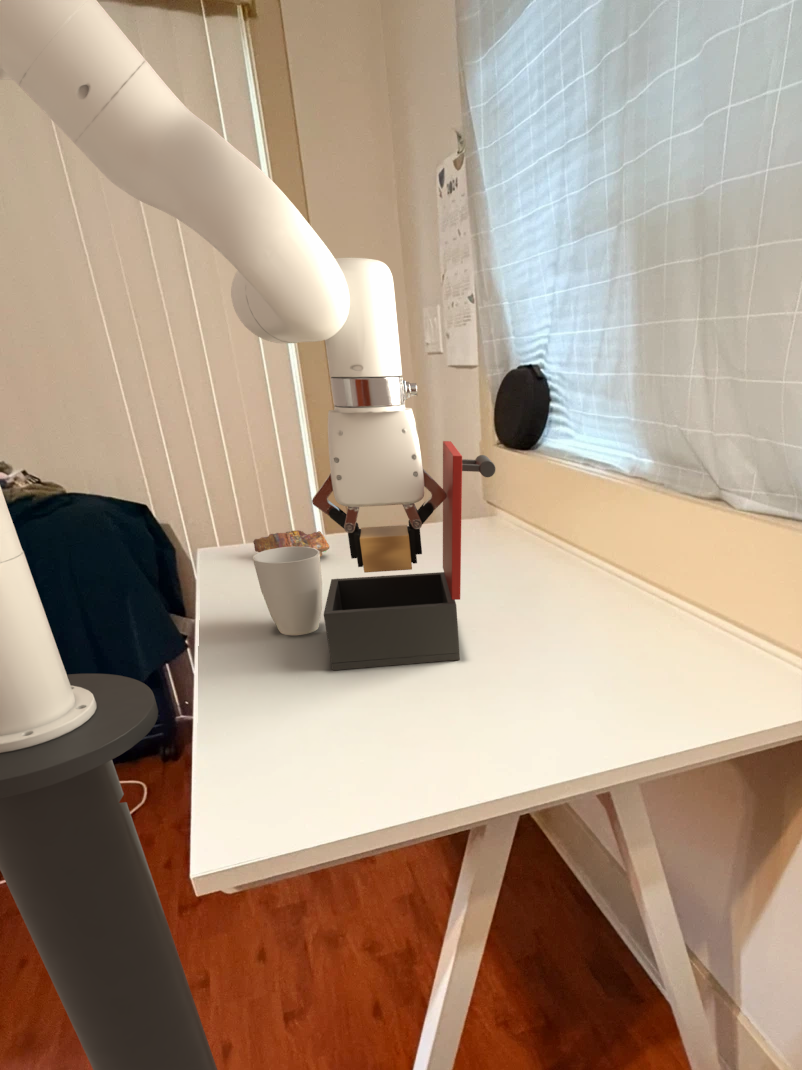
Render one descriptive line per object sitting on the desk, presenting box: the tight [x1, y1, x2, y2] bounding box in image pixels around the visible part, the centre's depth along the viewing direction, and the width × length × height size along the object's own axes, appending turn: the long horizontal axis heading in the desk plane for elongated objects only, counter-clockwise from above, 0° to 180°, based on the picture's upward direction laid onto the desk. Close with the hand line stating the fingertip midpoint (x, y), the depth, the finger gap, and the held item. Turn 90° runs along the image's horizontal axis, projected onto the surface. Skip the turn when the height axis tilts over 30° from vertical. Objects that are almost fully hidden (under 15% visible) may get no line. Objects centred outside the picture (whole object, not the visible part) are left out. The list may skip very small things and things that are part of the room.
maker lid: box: [442, 440, 496, 601], centre depth 84 cm, size 16×14×5 cm
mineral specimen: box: [252, 530, 330, 558], centre depth 124 cm, size 12×8×7 cm
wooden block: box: [360, 524, 413, 574], centre depth 83 cm, size 6×6×4 cm
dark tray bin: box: [323, 571, 461, 671], centre depth 87 cm, size 15×14×7 cm
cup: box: [252, 547, 323, 636], centre depth 92 cm, size 8×8×10 cm
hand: (387, 560), depth 84 cm, fingers closed on wooden block, 5 cm apart
